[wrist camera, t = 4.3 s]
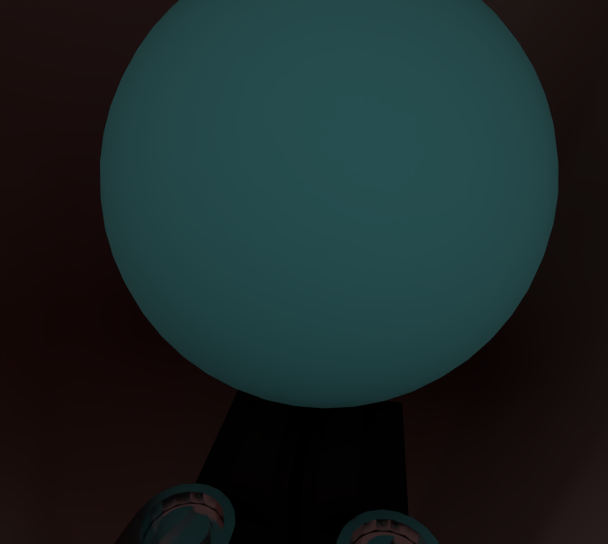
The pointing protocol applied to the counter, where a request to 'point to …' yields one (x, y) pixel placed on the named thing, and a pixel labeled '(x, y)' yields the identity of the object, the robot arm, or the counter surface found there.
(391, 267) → the ball
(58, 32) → the counter surface
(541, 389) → the counter surface
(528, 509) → the counter surface
